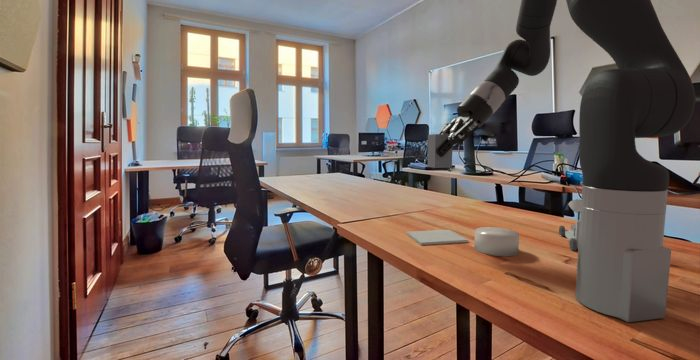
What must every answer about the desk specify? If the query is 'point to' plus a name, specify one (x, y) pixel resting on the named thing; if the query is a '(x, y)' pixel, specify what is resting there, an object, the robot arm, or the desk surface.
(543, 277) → the desk surface
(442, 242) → the rubber mat
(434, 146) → the cap block
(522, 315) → the desk surface
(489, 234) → the white round part
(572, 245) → the toy car
